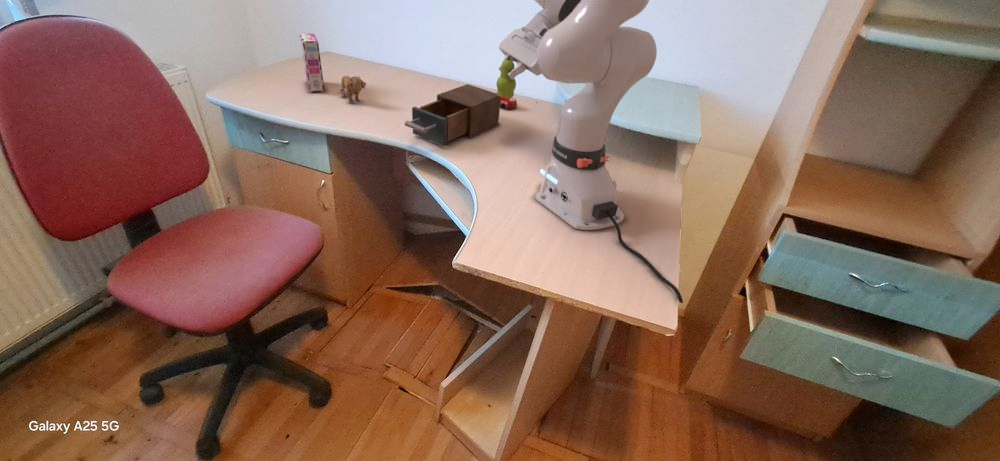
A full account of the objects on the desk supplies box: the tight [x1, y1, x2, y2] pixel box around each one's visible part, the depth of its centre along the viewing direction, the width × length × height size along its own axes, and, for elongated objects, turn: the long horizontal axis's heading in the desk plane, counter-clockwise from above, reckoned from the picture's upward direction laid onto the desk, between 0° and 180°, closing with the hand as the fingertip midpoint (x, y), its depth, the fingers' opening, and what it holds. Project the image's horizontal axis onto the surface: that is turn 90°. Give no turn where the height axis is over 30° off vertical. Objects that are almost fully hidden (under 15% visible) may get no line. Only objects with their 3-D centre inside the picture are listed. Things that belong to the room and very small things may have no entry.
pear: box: [496, 56, 517, 98], centre depth 124 cm, size 5×5×11 cm
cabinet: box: [436, 83, 501, 139], centre depth 139 cm, size 15×13×10 cm
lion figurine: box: [340, 75, 367, 105], centre depth 149 cm, size 15×5×9 cm, turn 44°
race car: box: [495, 92, 518, 110], centre depth 158 cm, size 13×5×4 cm, turn 53°
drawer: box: [404, 99, 469, 147], centre depth 130 cm, size 19×12×8 cm, turn 145°
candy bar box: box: [299, 33, 326, 93], centre depth 153 cm, size 11×5×16 cm, turn 25°
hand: (505, 74), depth 123 cm, fingers closed on pear, 3 cm apart
